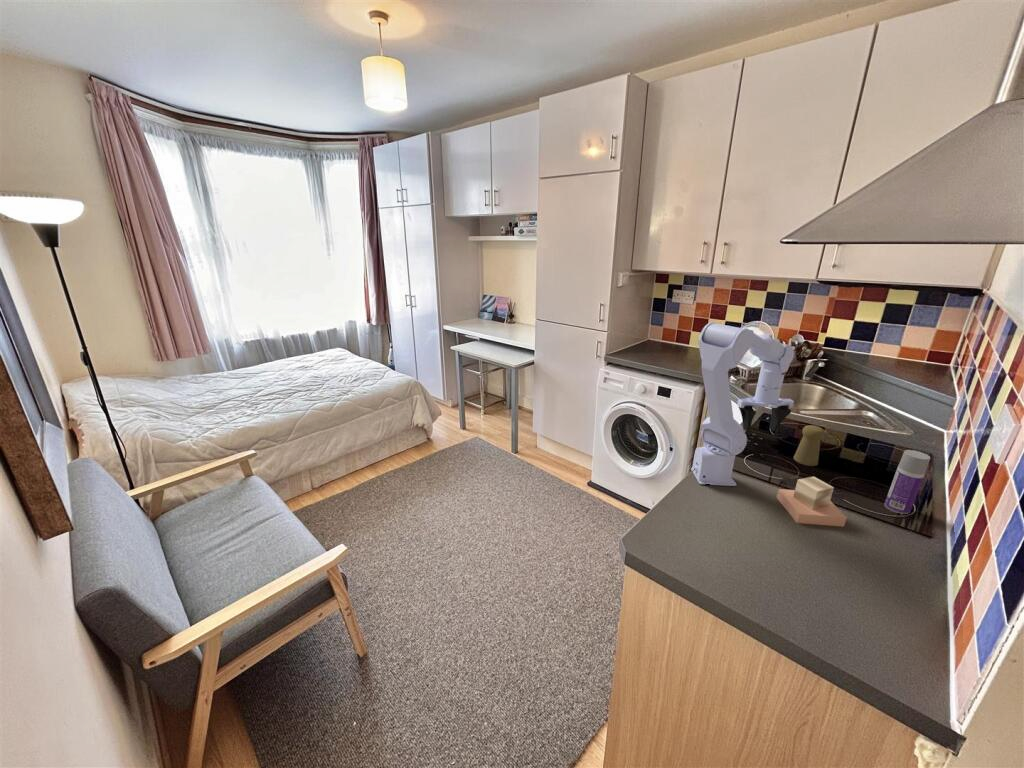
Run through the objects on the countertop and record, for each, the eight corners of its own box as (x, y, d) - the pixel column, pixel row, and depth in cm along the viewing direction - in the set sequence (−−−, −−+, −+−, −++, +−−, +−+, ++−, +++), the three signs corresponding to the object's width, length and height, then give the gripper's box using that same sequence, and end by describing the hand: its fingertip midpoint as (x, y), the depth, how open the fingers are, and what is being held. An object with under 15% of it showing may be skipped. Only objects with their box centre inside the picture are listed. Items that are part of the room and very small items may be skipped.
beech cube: (812, 509, 95) (817, 491, 94) (793, 497, 100) (797, 479, 98) (828, 505, 97) (834, 487, 95) (808, 493, 101) (813, 476, 100)
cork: (810, 456, 124) (819, 423, 120) (822, 466, 118) (832, 432, 114) (789, 455, 124) (797, 422, 120) (800, 465, 118) (809, 431, 115)
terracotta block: (796, 524, 95) (799, 514, 94) (776, 498, 104) (778, 489, 103) (843, 528, 94) (846, 517, 93) (818, 502, 103) (821, 491, 102)
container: (915, 514, 97) (937, 459, 92) (895, 514, 97) (916, 459, 92) (897, 502, 102) (917, 449, 97) (878, 502, 102) (898, 449, 97)
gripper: (751, 390, 109) (741, 436, 113) (805, 390, 109) (793, 436, 113) (737, 381, 115) (728, 425, 120) (788, 381, 115) (778, 425, 120)
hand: (759, 429), depth 117 cm, fingers open, 7 cm apart
